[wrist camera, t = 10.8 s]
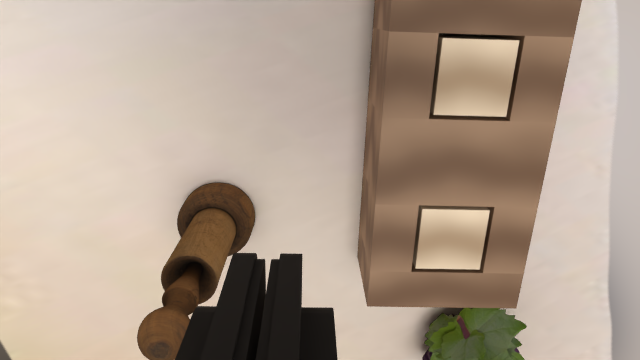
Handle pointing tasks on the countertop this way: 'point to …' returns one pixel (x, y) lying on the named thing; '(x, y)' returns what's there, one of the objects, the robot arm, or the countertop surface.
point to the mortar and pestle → (196, 263)
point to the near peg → (473, 75)
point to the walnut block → (457, 147)
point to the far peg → (450, 237)
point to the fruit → (474, 336)
